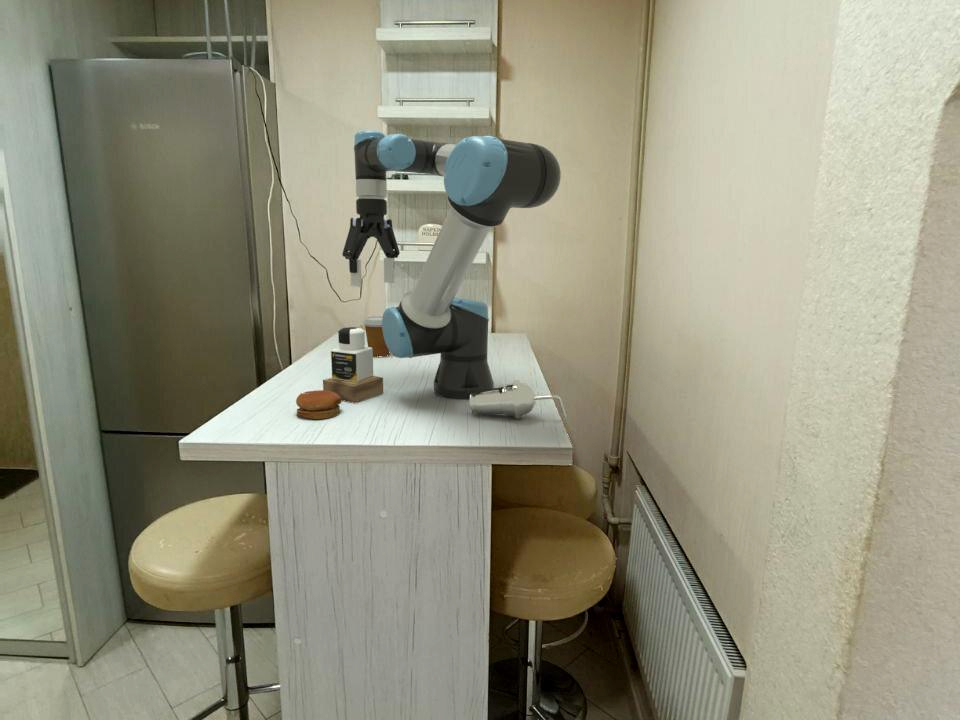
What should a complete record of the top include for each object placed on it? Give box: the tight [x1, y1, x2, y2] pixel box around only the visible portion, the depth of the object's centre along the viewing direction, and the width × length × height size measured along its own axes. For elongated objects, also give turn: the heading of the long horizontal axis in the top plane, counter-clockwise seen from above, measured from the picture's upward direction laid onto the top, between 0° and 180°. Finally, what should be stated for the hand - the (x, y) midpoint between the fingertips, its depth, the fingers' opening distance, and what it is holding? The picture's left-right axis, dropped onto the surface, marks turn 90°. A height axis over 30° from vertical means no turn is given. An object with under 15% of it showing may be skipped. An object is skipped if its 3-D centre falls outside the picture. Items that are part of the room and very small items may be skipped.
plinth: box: [322, 375, 384, 404], centre depth 134 cm, size 10×10×4 cm
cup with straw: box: [469, 379, 568, 420], centre depth 119 cm, size 8×9×20 cm
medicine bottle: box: [330, 326, 374, 382], centre depth 132 cm, size 7×7×12 cm
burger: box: [295, 389, 343, 420], centre depth 120 cm, size 10×9×5 cm
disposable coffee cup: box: [362, 315, 390, 358], centre depth 178 cm, size 10×10×12 cm
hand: (373, 284), depth 143 cm, fingers open, 13 cm apart
